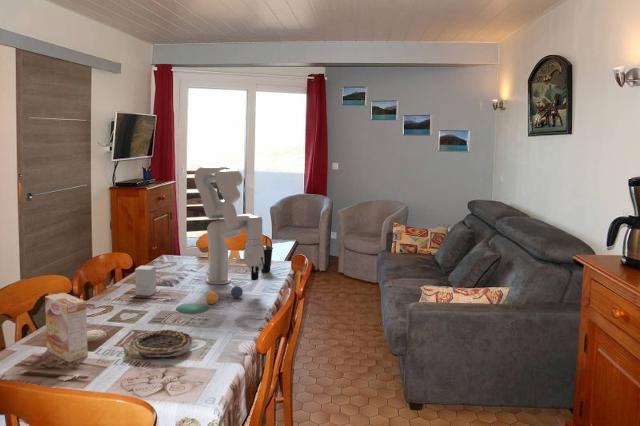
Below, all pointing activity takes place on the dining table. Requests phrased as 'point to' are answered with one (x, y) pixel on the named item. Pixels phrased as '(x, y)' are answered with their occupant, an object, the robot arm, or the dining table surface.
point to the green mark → (192, 308)
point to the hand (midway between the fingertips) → (254, 279)
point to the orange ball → (212, 297)
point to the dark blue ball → (236, 292)
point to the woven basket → (158, 345)
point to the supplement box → (145, 280)
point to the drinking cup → (267, 258)
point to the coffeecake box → (66, 326)
